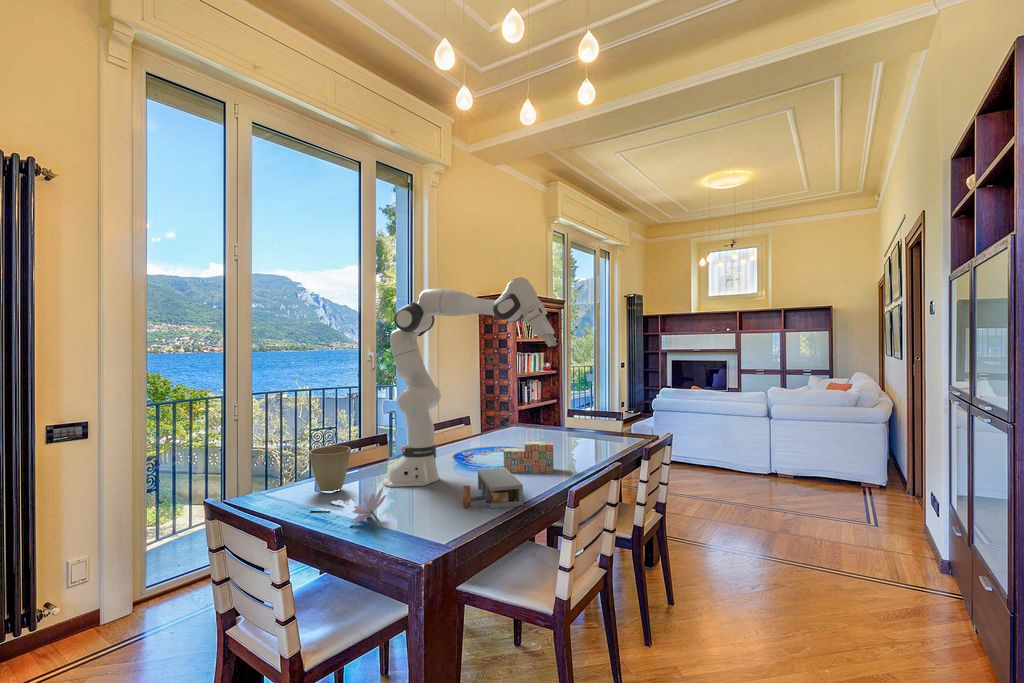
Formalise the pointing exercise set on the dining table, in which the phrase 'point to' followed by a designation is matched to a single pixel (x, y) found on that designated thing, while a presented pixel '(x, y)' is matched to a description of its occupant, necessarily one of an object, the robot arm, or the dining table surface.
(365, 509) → the water lily
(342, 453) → the plant pot
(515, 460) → the stack of blocks
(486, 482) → the shelf
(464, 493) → the toy hammer
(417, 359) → the robot arm
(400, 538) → the dining table surface
